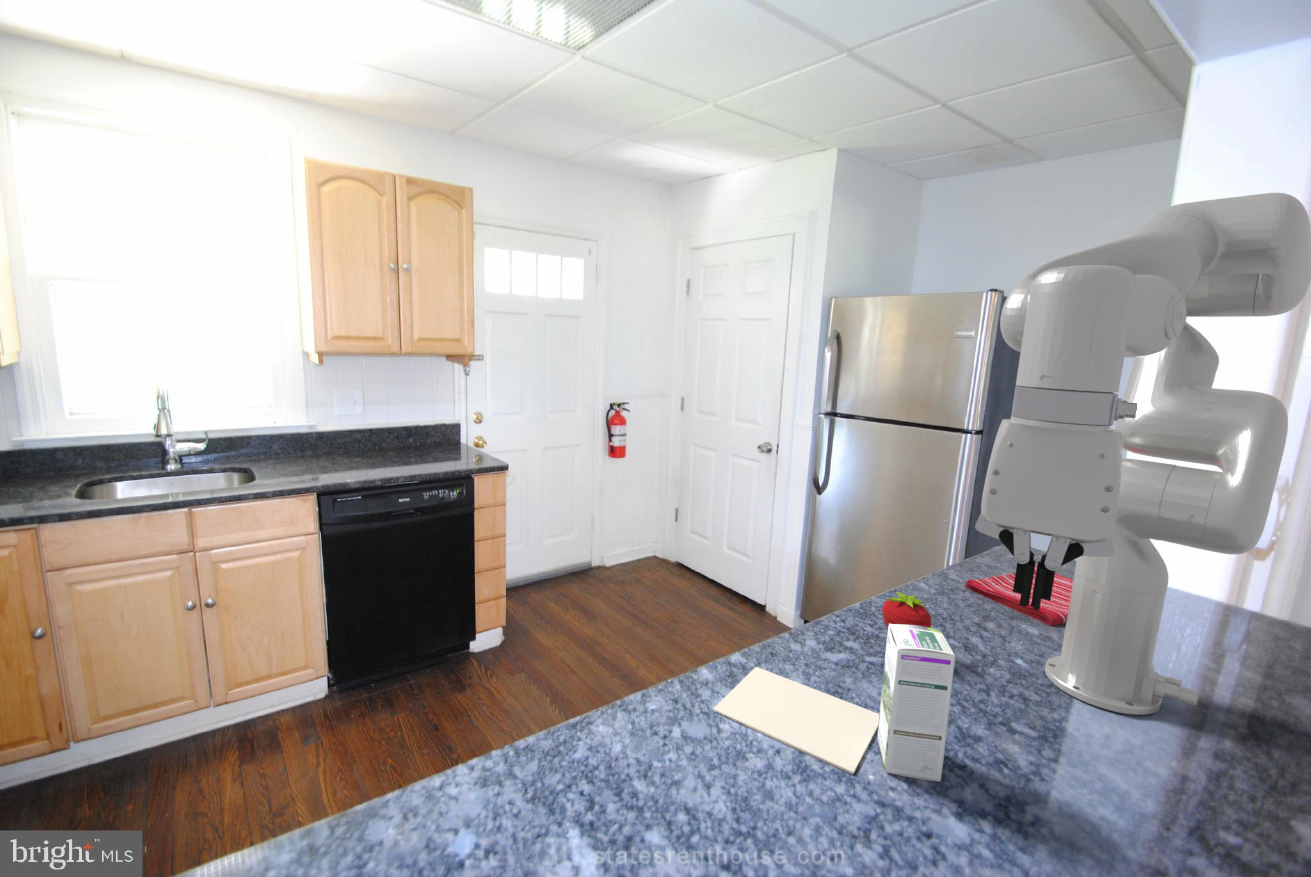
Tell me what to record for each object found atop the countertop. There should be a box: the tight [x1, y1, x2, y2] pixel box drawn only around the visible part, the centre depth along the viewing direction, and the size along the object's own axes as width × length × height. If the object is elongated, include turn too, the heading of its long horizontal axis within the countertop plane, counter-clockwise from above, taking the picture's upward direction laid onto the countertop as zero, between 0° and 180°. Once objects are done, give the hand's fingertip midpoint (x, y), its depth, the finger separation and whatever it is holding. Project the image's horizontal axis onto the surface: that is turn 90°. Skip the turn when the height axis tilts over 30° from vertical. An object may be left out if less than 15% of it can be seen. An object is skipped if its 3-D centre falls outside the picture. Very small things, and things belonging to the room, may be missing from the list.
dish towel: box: [964, 565, 1074, 627], centre depth 109 cm, size 17×24×3 cm
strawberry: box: [881, 586, 933, 629], centre depth 86 cm, size 6×8×10 cm
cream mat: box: [712, 666, 879, 775], centre depth 70 cm, size 17×12×1 cm
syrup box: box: [876, 624, 956, 783], centre depth 62 cm, size 6×6×14 cm
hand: (1030, 602), depth 55 cm, fingers closed
